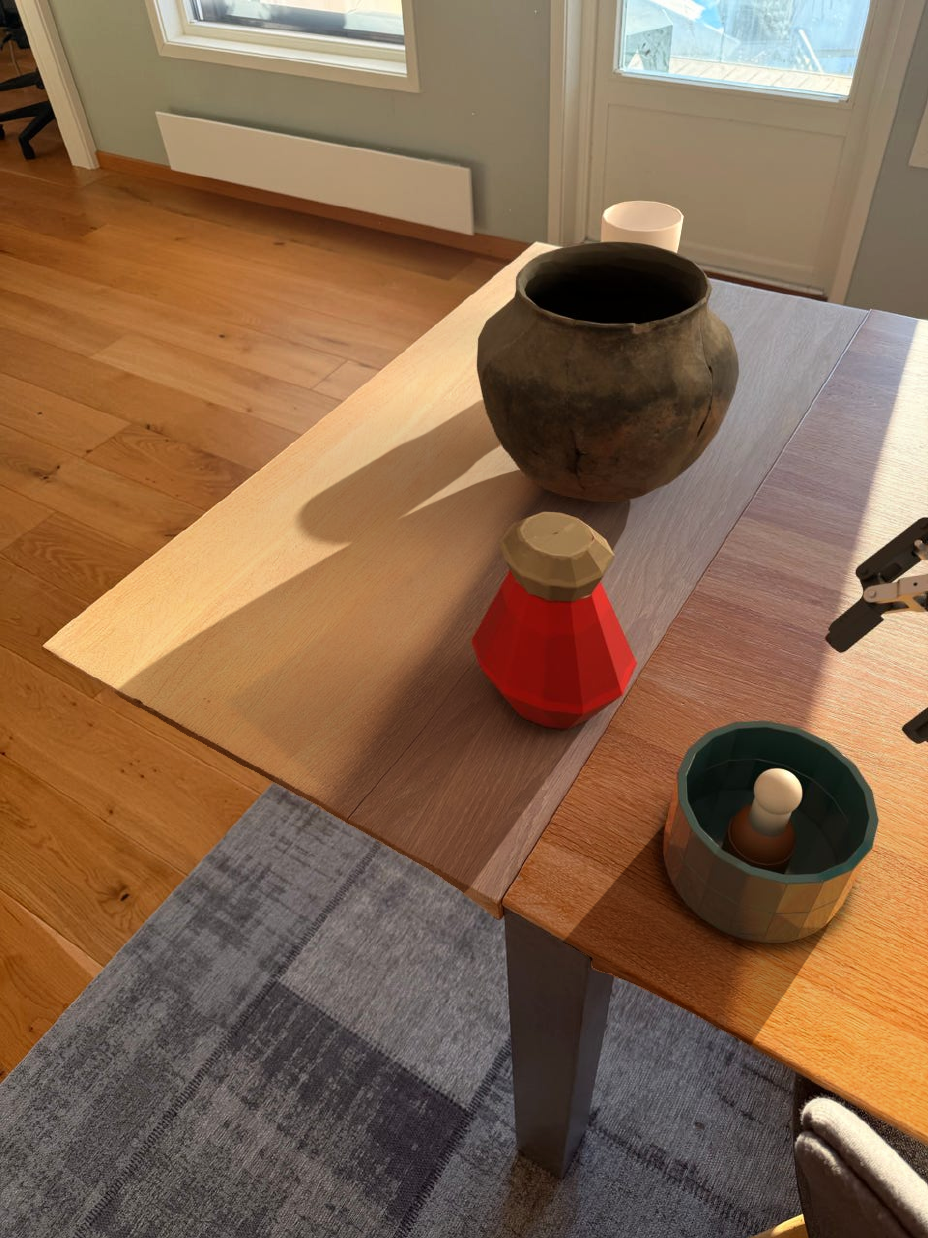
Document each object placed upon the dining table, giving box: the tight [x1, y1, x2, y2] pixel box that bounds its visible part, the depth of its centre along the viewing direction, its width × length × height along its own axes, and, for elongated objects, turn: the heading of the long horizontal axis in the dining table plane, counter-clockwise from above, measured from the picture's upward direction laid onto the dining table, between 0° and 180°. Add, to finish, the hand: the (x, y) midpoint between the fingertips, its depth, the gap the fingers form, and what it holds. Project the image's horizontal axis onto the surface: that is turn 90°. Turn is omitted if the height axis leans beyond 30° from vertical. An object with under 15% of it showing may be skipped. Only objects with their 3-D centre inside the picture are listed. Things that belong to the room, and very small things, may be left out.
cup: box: [600, 200, 684, 253], centre depth 133 cm, size 11×11×17 cm
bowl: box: [662, 720, 880, 944], centre depth 71 cm, size 14×15×9 cm
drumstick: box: [722, 769, 802, 875], centre depth 70 cm, size 5×5×11 cm
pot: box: [476, 241, 740, 503], centre depth 104 cm, size 29×32×25 cm
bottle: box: [470, 511, 638, 731], centre depth 80 cm, size 16×14×20 cm
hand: (869, 689), depth 61 cm, fingers open, 8 cm apart
